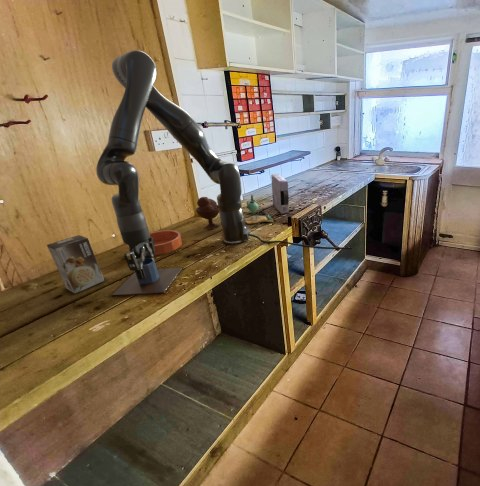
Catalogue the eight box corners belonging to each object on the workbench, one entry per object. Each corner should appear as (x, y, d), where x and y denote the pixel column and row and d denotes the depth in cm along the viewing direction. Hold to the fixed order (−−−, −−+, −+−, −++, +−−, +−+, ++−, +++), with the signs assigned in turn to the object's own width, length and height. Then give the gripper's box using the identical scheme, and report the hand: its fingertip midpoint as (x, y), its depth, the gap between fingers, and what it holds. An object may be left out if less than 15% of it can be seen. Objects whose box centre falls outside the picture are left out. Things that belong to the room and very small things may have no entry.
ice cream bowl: (216, 231, 145) (210, 200, 139) (195, 230, 147) (188, 199, 141) (227, 223, 154) (222, 193, 148) (207, 222, 156) (201, 193, 150)
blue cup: (162, 275, 107) (157, 257, 105) (154, 284, 102) (149, 265, 99) (144, 276, 107) (138, 258, 104) (135, 285, 102) (129, 266, 99)
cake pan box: (290, 213, 166) (288, 180, 158) (281, 214, 164) (278, 181, 157) (281, 203, 182) (278, 173, 174) (272, 205, 180) (269, 174, 173)
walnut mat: (182, 268, 112) (182, 267, 112) (164, 293, 98) (164, 292, 98) (137, 271, 112) (137, 269, 111) (112, 296, 97) (111, 294, 97)
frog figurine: (266, 227, 148) (260, 197, 142) (236, 226, 155) (229, 197, 150) (277, 220, 156) (271, 191, 150) (248, 220, 163) (241, 192, 157)
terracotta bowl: (187, 238, 138) (185, 229, 136) (173, 255, 123) (170, 245, 121) (149, 240, 137) (146, 231, 135) (130, 257, 122) (127, 247, 120)
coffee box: (96, 276, 109) (79, 234, 102) (105, 281, 106) (89, 237, 99) (65, 288, 102) (46, 244, 95) (74, 294, 99) (54, 248, 92)
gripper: (134, 234, 90) (148, 284, 97) (155, 218, 103) (167, 262, 110) (107, 235, 90) (124, 285, 97) (132, 219, 103) (145, 263, 110)
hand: (147, 273), depth 103 cm, fingers closed on blue cup, 6 cm apart
